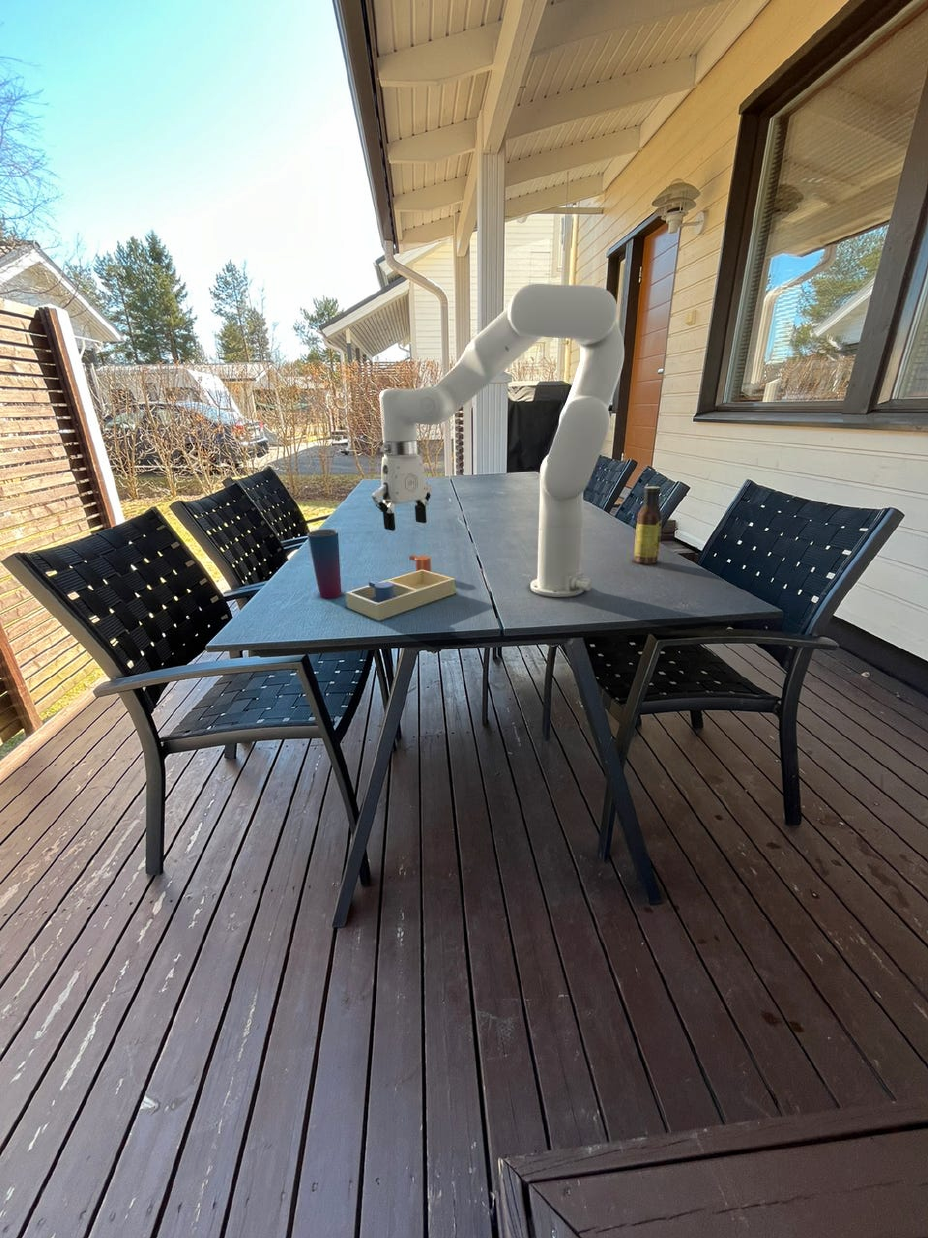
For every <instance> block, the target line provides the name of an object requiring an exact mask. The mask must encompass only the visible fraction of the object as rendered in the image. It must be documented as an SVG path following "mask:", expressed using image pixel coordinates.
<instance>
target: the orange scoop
mask: <svg viewBox="0 0 928 1238" xmlns="http://www.w3.org/2000/svg"><path fill="white" fill-rule="evenodd" d="M408 558H409V560H410V561H413V562H415V571H419V570H422V569H423V570H426V571H430V572H432V560H431V559H432V558H431V556H429V555H419V556H418V555H414V554H411V555H409V557H408Z"/></svg>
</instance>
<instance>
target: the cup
mask: <svg viewBox="0 0 928 1238" xmlns="http://www.w3.org/2000/svg"><path fill="white" fill-rule="evenodd" d="M306 535H307V541H308V544H309V550H310V555H311V560H312V563H313V564H312V565H313V569H314V574H315V579H316V584H317V588H318V594H319V597H320V598H322V599H336V598H338V597H340V596H342V580H341V579H342V577H341V560H340V542H339V541H340V540H339V531H338V529H333V528H324V529H314V530H311V531H308V532H307V534H306Z"/></svg>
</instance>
